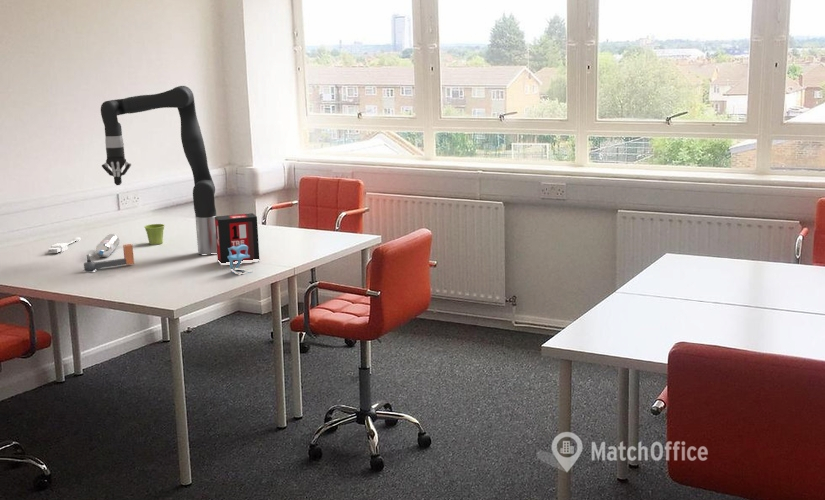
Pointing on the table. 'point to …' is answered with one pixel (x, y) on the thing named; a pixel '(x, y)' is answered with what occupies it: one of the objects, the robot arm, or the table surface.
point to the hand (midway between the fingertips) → (118, 184)
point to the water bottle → (107, 245)
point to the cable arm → (126, 260)
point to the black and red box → (236, 235)
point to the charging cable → (61, 246)
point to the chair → (237, 255)
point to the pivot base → (89, 262)
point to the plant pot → (155, 233)
